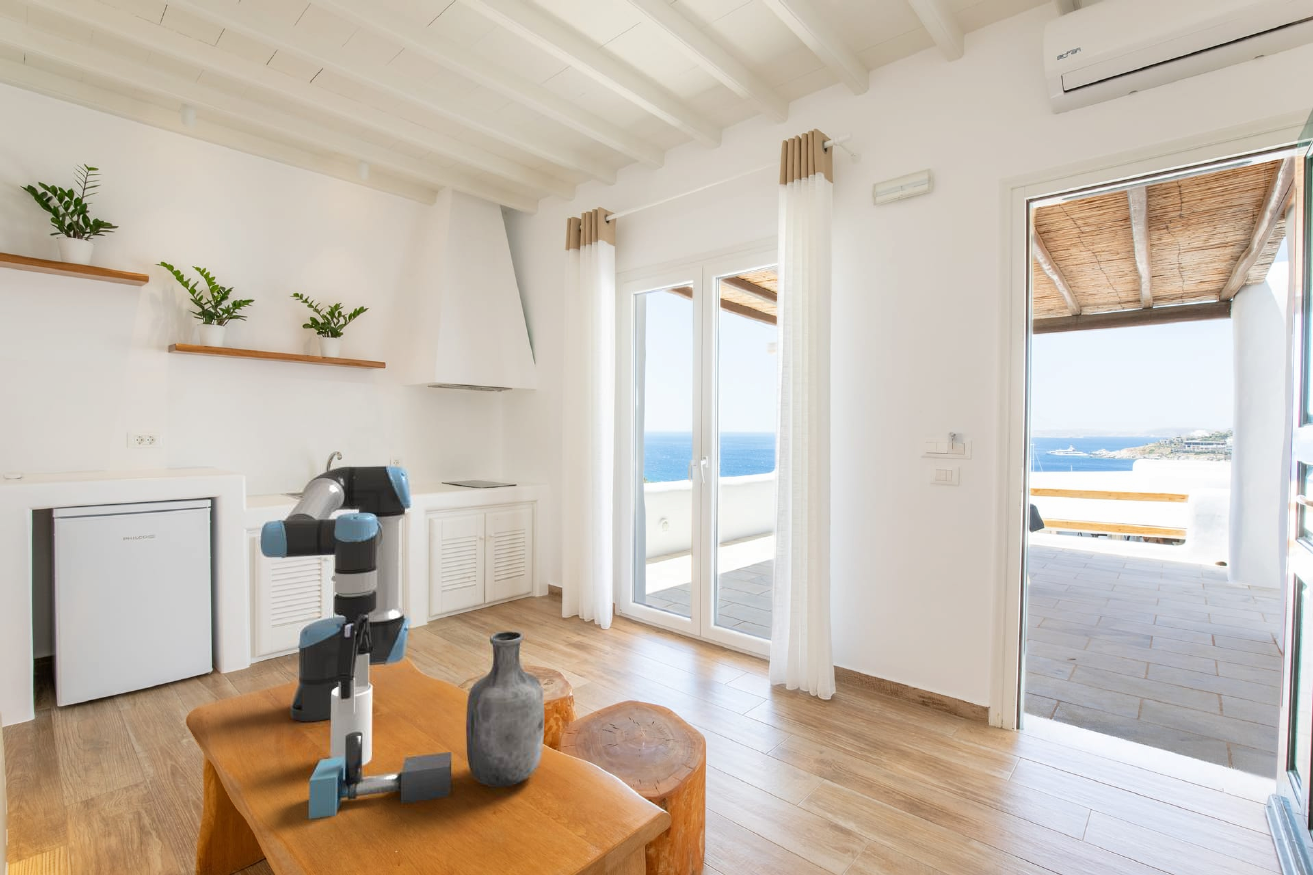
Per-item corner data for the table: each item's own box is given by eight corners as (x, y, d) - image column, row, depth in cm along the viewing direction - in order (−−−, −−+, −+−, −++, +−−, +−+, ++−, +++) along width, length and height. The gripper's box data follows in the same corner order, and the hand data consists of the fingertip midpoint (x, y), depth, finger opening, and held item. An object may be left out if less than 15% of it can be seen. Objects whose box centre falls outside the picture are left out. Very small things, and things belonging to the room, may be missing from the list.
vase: (473, 808, 117) (475, 653, 117) (459, 769, 131) (460, 630, 132) (553, 787, 124) (554, 641, 125) (531, 752, 139) (532, 621, 139)
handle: (418, 783, 124) (418, 723, 124) (415, 794, 120) (416, 732, 120) (325, 796, 120) (325, 734, 120) (319, 807, 116) (320, 743, 116)
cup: (354, 772, 130) (355, 697, 130) (321, 768, 131) (322, 694, 132) (379, 753, 138) (380, 683, 138) (348, 750, 139) (348, 680, 140)
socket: (344, 792, 122) (345, 756, 122) (335, 815, 115) (335, 776, 115) (320, 795, 121) (320, 759, 121) (308, 818, 113) (309, 780, 114)
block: (451, 780, 127) (451, 751, 127) (449, 796, 121) (449, 766, 121) (405, 786, 124) (405, 757, 124) (401, 803, 119) (401, 772, 119)
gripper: (349, 579, 131) (348, 677, 131) (317, 610, 107) (315, 730, 107) (386, 577, 133) (385, 673, 133) (363, 607, 109) (362, 725, 108)
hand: (354, 699), depth 120 cm, fingers open, 13 cm apart
